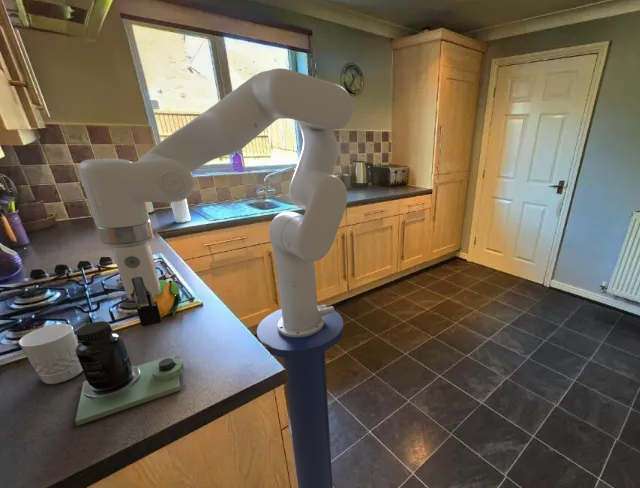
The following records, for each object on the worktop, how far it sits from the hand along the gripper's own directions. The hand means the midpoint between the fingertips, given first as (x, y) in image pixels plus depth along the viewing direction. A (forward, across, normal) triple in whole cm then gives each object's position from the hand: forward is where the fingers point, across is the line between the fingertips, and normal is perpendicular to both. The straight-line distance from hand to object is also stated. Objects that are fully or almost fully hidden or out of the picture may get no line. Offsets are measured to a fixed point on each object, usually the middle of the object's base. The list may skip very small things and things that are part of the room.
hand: (151, 322), depth 65 cm
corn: (+14, +32, -2) cm, 35 cm away
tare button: (+11, 0, 0) cm, 11 cm away
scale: (+14, 0, +6) cm, 15 cm away
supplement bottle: (+11, 0, +8) cm, 14 cm away
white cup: (+14, +13, +18) cm, 26 cm away
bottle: (+13, +142, -16) cm, 143 cm away
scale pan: (+11, 0, +9) cm, 14 cm away
